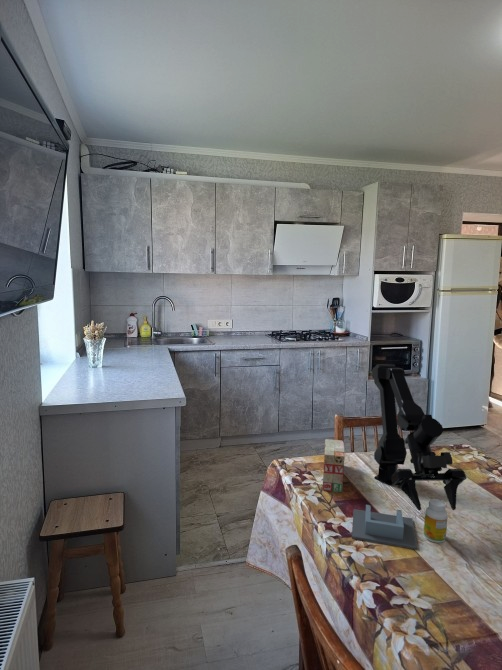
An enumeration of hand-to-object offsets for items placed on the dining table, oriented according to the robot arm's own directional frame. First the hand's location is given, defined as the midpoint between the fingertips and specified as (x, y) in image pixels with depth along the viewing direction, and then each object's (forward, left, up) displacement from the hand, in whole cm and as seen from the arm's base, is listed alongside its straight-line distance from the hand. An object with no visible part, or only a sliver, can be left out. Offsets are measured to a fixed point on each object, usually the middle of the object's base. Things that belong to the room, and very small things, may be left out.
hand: (437, 509), depth 113 cm
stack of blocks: (-6, -39, -8) cm, 41 cm away
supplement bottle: (0, 0, -8) cm, 8 cm away
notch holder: (+7, -11, -8) cm, 15 cm away
